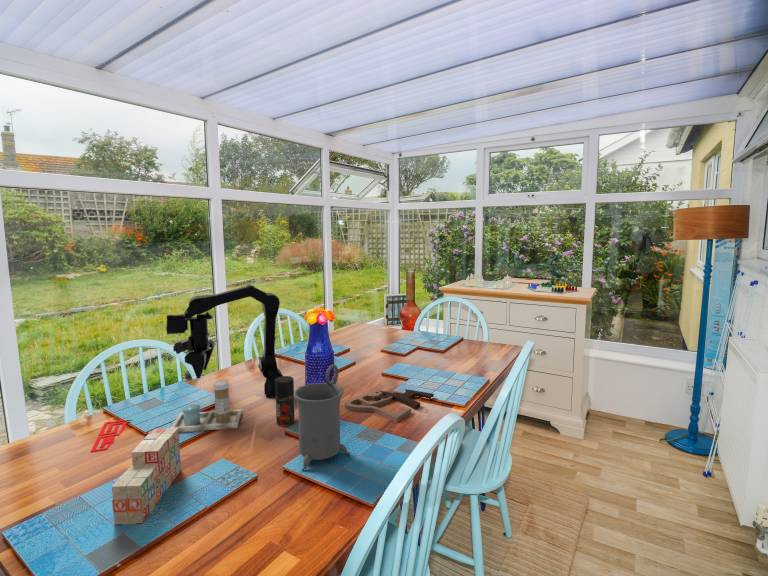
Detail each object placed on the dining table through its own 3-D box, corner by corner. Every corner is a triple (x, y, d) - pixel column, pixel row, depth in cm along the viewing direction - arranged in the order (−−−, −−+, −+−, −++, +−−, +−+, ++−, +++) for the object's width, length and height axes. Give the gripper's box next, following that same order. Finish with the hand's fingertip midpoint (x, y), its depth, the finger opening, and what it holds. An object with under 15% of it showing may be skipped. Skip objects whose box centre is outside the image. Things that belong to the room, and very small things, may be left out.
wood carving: (434, 399, 165) (384, 385, 178) (434, 393, 164) (384, 380, 178) (393, 426, 142) (339, 408, 156) (393, 420, 142) (339, 403, 155)
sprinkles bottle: (226, 416, 145) (224, 378, 143) (232, 421, 142) (231, 382, 140) (213, 421, 142) (211, 382, 140) (219, 425, 138) (217, 385, 137)
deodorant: (297, 419, 145) (296, 377, 143) (288, 427, 140) (287, 383, 138) (282, 417, 147) (281, 375, 145) (272, 424, 142) (271, 381, 140)
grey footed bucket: (326, 478, 112) (325, 386, 108) (280, 465, 118) (277, 378, 114) (359, 445, 129) (359, 365, 125) (318, 435, 135) (316, 358, 131)
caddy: (241, 415, 148) (241, 409, 148) (237, 430, 137) (237, 423, 137) (180, 420, 144) (179, 413, 144) (170, 435, 134) (169, 428, 133)
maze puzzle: (104, 424, 142) (104, 422, 142) (171, 414, 150) (171, 412, 150) (90, 453, 124) (90, 451, 124) (167, 440, 132) (167, 438, 131)
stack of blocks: (143, 524, 94) (139, 472, 92) (113, 526, 94) (108, 473, 92) (181, 470, 115) (178, 426, 114) (157, 471, 115) (154, 427, 113)
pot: (203, 419, 143) (202, 403, 142) (199, 426, 138) (198, 410, 137) (185, 420, 142) (184, 404, 141) (181, 428, 137) (180, 411, 136)
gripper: (182, 326, 160) (184, 366, 162) (166, 339, 142) (169, 384, 144) (213, 325, 162) (215, 365, 164) (202, 338, 144) (205, 382, 146)
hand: (201, 373), depth 155 cm, fingers open, 9 cm apart
